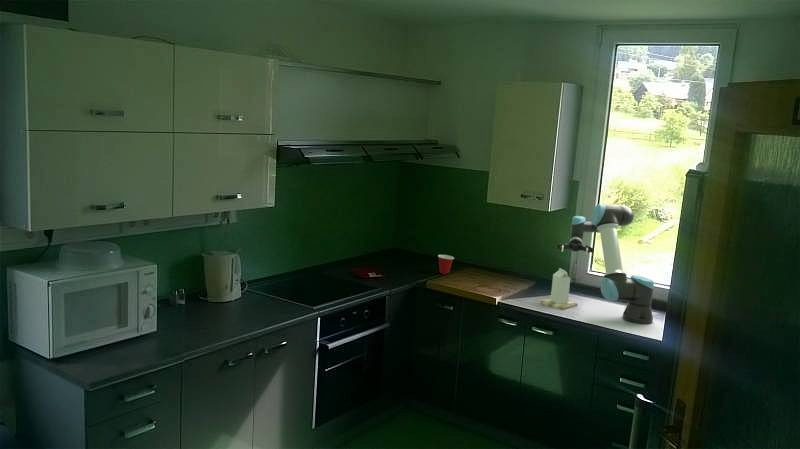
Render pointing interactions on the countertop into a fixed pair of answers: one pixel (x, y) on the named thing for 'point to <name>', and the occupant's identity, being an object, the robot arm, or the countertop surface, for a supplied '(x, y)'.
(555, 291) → the milk carton
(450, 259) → the plastic cup
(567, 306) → the yellow ridged slab
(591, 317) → the countertop surface
